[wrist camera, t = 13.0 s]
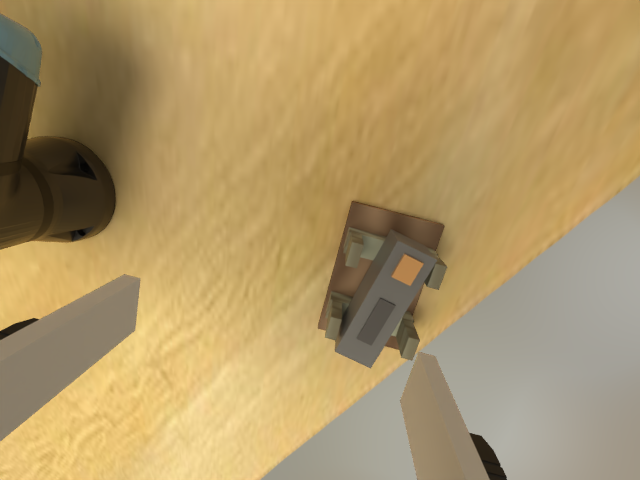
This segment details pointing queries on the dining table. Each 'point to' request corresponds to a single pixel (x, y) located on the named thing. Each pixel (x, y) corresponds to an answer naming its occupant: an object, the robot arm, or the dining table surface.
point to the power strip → (383, 297)
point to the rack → (357, 256)
